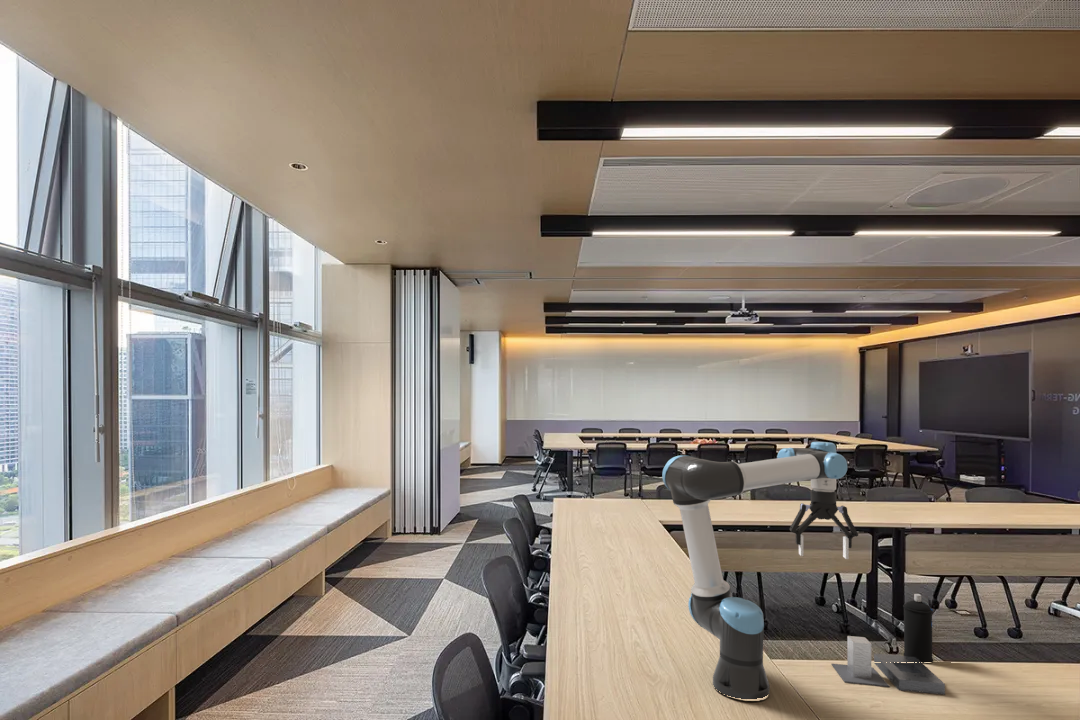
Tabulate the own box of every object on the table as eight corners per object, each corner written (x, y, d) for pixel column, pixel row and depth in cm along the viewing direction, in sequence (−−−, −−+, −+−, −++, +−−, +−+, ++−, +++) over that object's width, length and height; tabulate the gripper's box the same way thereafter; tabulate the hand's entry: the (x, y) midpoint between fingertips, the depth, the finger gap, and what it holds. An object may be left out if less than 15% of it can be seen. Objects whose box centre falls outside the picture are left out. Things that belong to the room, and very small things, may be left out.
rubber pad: (844, 682, 175) (844, 681, 175) (831, 664, 187) (831, 663, 187) (889, 687, 173) (889, 685, 173) (872, 668, 185) (872, 667, 185)
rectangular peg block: (853, 677, 178) (853, 642, 179) (847, 669, 183) (847, 635, 183) (871, 678, 177) (871, 643, 178) (865, 671, 182) (865, 637, 183)
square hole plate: (898, 690, 171) (898, 679, 171) (874, 663, 189) (874, 653, 189) (944, 694, 169) (944, 683, 170) (915, 666, 187) (915, 657, 187)
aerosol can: (919, 664, 189) (918, 599, 190) (897, 653, 197) (896, 591, 198) (939, 662, 191) (939, 598, 192) (917, 651, 199) (916, 590, 200)
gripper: (785, 489, 193) (785, 556, 192) (869, 493, 189) (869, 562, 188) (780, 486, 201) (779, 550, 199) (860, 490, 197) (860, 556, 196)
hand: (823, 556), depth 194 cm, fingers open, 13 cm apart
